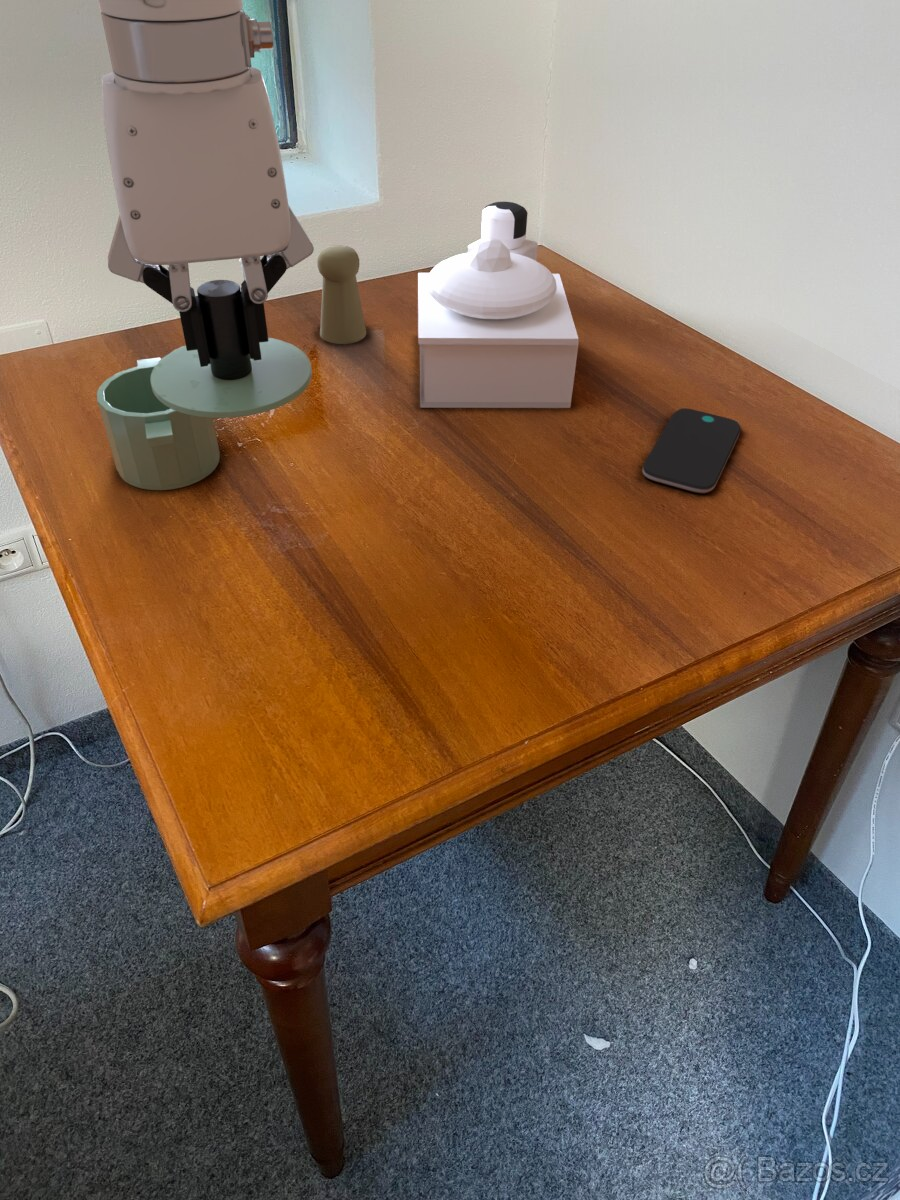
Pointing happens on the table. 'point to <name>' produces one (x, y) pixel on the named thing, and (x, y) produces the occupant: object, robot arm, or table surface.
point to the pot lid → (229, 365)
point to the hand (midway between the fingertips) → (228, 352)
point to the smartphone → (692, 451)
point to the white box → (494, 333)
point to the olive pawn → (340, 295)
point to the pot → (154, 433)
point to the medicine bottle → (507, 228)
